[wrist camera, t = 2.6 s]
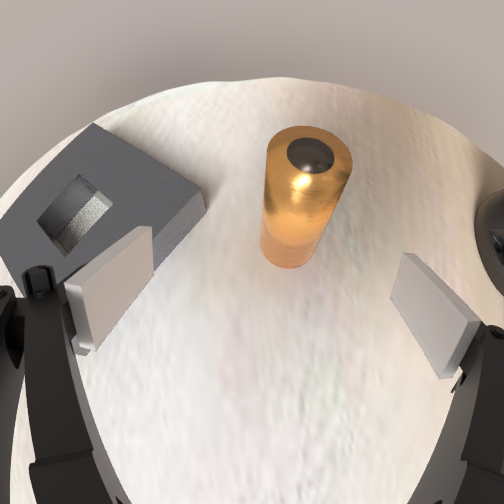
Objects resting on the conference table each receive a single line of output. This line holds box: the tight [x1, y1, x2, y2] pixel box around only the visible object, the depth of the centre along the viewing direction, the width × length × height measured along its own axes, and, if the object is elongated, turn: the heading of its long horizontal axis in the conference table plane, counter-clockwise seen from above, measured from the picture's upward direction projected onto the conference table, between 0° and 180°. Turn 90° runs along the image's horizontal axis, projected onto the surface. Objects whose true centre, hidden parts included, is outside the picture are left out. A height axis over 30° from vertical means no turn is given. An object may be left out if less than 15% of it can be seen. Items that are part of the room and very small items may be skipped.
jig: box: [0, 123, 207, 356], centre depth 26 cm, size 18×18×4 cm
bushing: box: [260, 126, 352, 269], centre depth 22 cm, size 5×5×12 cm
